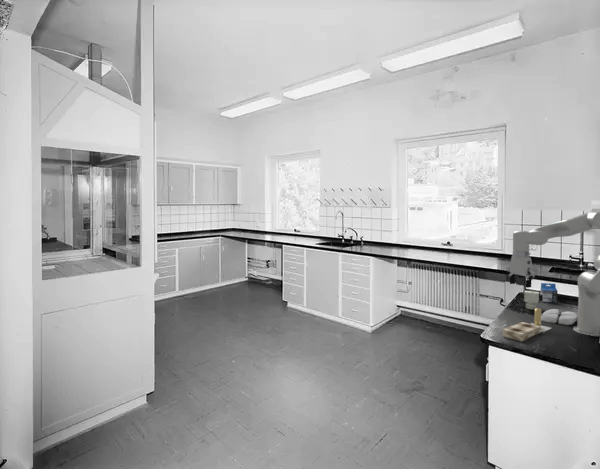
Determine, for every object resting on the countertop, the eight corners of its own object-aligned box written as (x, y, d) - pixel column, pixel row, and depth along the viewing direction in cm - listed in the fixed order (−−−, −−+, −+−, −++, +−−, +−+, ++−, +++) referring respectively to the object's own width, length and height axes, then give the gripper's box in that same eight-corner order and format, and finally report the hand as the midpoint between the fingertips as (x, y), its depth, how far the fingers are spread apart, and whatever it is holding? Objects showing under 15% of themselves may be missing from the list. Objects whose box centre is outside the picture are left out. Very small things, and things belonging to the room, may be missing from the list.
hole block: (540, 333, 185) (540, 326, 184) (521, 341, 174) (521, 334, 173) (522, 328, 192) (522, 321, 192) (502, 336, 181) (502, 329, 181)
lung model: (538, 321, 203) (544, 315, 222) (576, 328, 192) (579, 321, 211) (539, 309, 203) (545, 304, 222) (577, 316, 192) (580, 310, 211)
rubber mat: (552, 328, 191) (552, 328, 191) (543, 332, 185) (543, 331, 185) (531, 323, 199) (531, 323, 199) (522, 327, 194) (522, 326, 194)
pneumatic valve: (542, 311, 222) (542, 292, 221) (520, 308, 229) (520, 289, 228) (542, 309, 227) (542, 290, 226) (520, 306, 233) (521, 288, 232)
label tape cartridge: (541, 302, 243) (542, 284, 242) (539, 300, 247) (540, 283, 246) (557, 302, 240) (557, 284, 239) (554, 301, 244) (555, 283, 243)
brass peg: (541, 327, 192) (542, 309, 191) (539, 328, 190) (539, 310, 189) (535, 326, 194) (536, 307, 194) (533, 327, 193) (533, 308, 192)
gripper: (541, 255, 184) (540, 288, 185) (512, 251, 201) (512, 281, 202) (529, 256, 182) (529, 289, 183) (501, 252, 199) (501, 283, 200)
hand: (520, 285), depth 193 cm, fingers open, 9 cm apart
